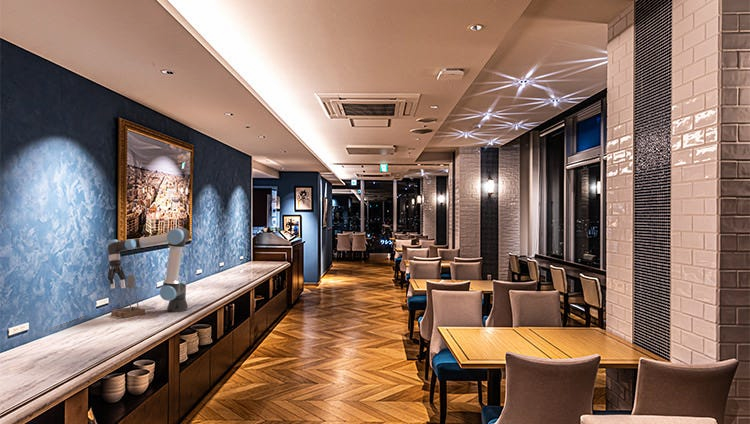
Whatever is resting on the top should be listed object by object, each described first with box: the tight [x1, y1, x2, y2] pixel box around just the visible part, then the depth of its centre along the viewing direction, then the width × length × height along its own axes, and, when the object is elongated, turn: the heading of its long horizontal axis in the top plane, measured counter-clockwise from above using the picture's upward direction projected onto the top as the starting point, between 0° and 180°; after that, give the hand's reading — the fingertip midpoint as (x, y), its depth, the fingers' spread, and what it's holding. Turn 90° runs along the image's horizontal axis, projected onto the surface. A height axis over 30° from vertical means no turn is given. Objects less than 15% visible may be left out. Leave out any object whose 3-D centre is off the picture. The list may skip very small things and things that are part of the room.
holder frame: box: [110, 306, 146, 319], centre depth 350 cm, size 16×17×4 cm
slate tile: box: [138, 304, 155, 311], centre depth 372 cm, size 14×14×1 cm
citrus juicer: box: [121, 274, 140, 312], centre depth 350 cm, size 11×10×30 cm
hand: (118, 288), depth 351 cm, fingers open, 13 cm apart
